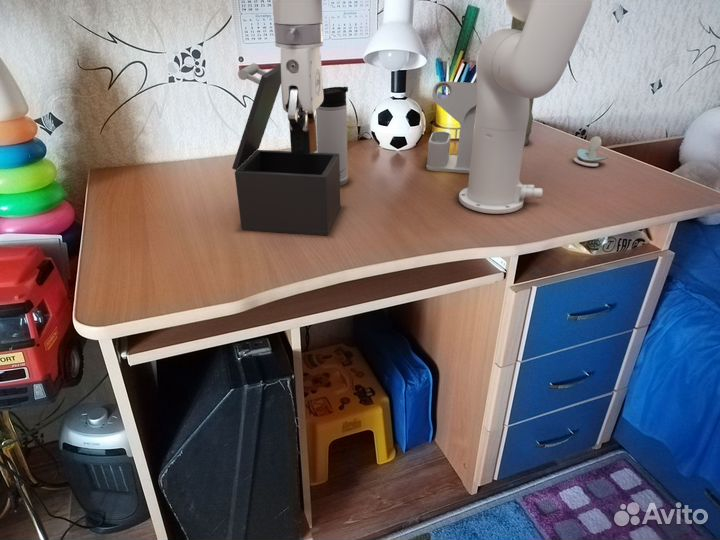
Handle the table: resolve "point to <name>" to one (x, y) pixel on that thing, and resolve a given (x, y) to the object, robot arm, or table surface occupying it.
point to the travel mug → (333, 127)
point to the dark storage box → (289, 192)
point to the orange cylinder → (312, 134)
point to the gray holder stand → (464, 112)
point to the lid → (257, 109)
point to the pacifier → (590, 153)
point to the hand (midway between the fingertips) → (304, 148)
